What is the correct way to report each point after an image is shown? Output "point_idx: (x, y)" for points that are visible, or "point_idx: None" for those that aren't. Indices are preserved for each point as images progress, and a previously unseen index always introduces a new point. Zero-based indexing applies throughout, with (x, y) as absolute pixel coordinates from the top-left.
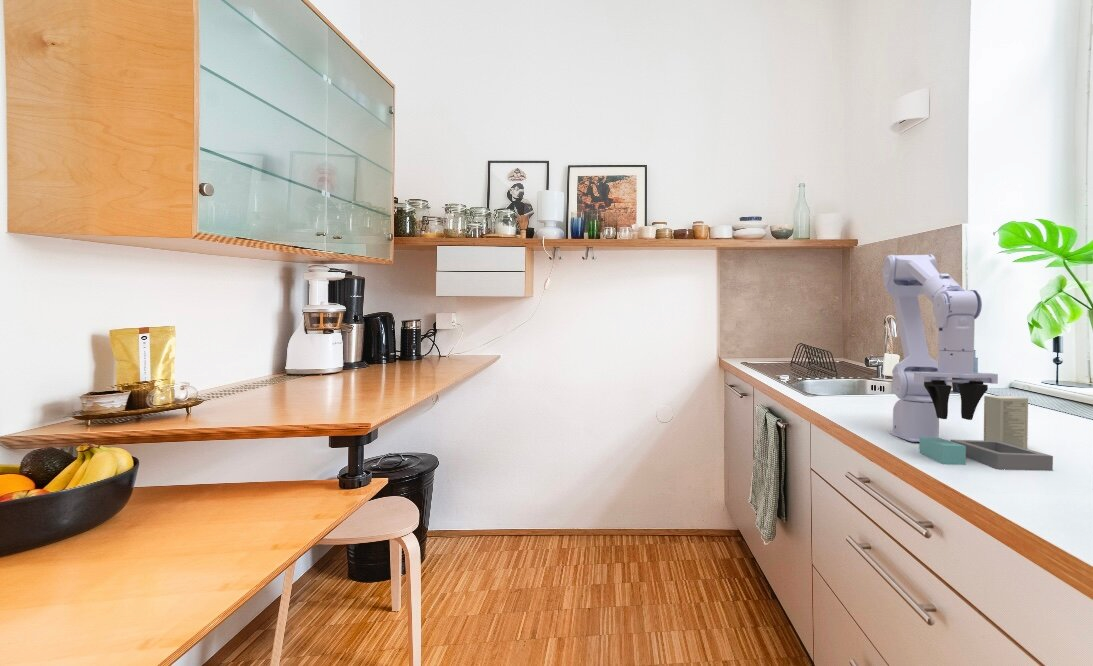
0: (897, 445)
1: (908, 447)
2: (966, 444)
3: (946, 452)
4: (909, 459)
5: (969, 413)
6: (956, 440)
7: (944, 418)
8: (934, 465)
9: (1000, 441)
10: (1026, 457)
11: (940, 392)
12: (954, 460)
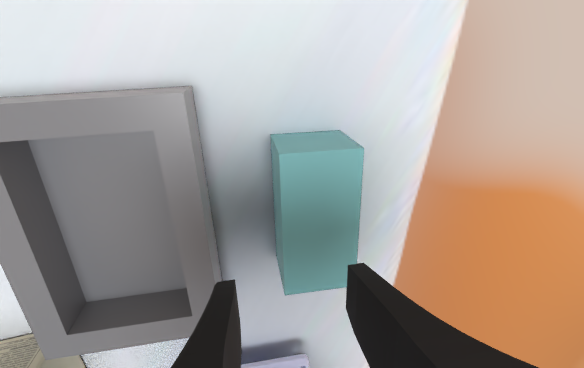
0: (323, 357)
1: (305, 342)
2: (211, 261)
3: (343, 140)
4: (400, 184)
5: (233, 301)
6: None
7: (361, 264)
8: (372, 116)
9: (35, 366)
10: (62, 98)
11: (526, 363)
12: (308, 136)
